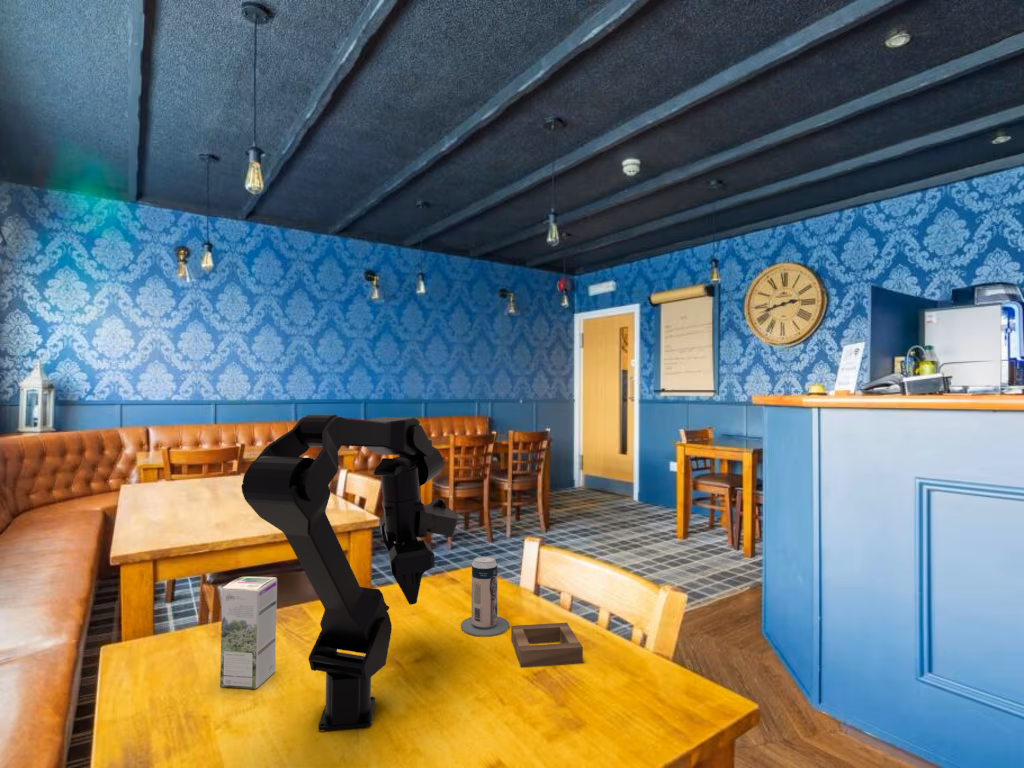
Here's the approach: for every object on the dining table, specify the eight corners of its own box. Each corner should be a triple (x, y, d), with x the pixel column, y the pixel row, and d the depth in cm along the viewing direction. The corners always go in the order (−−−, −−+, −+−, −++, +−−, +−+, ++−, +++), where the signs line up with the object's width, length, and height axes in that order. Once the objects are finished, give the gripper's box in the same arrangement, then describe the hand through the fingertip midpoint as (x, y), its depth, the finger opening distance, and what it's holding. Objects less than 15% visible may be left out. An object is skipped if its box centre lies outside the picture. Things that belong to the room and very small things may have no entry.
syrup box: (277, 671, 85) (279, 575, 85) (255, 691, 79) (257, 588, 79) (241, 669, 85) (244, 574, 86) (217, 688, 79) (220, 586, 80)
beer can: (499, 628, 100) (499, 562, 101) (473, 631, 99) (474, 563, 99) (494, 618, 105) (494, 554, 105) (469, 620, 104) (469, 556, 104)
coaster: (512, 635, 98) (512, 632, 98) (462, 638, 97) (462, 635, 97) (505, 616, 107) (505, 614, 107) (459, 618, 106) (459, 616, 106)
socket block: (582, 662, 88) (582, 647, 88) (520, 667, 86) (520, 650, 86) (567, 636, 98) (567, 622, 98) (511, 640, 96) (511, 625, 96)
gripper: (465, 507, 80) (471, 607, 82) (440, 473, 98) (446, 557, 100) (387, 519, 77) (396, 624, 79) (376, 482, 94) (383, 569, 96)
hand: (408, 589), depth 88 cm, fingers open, 9 cm apart
